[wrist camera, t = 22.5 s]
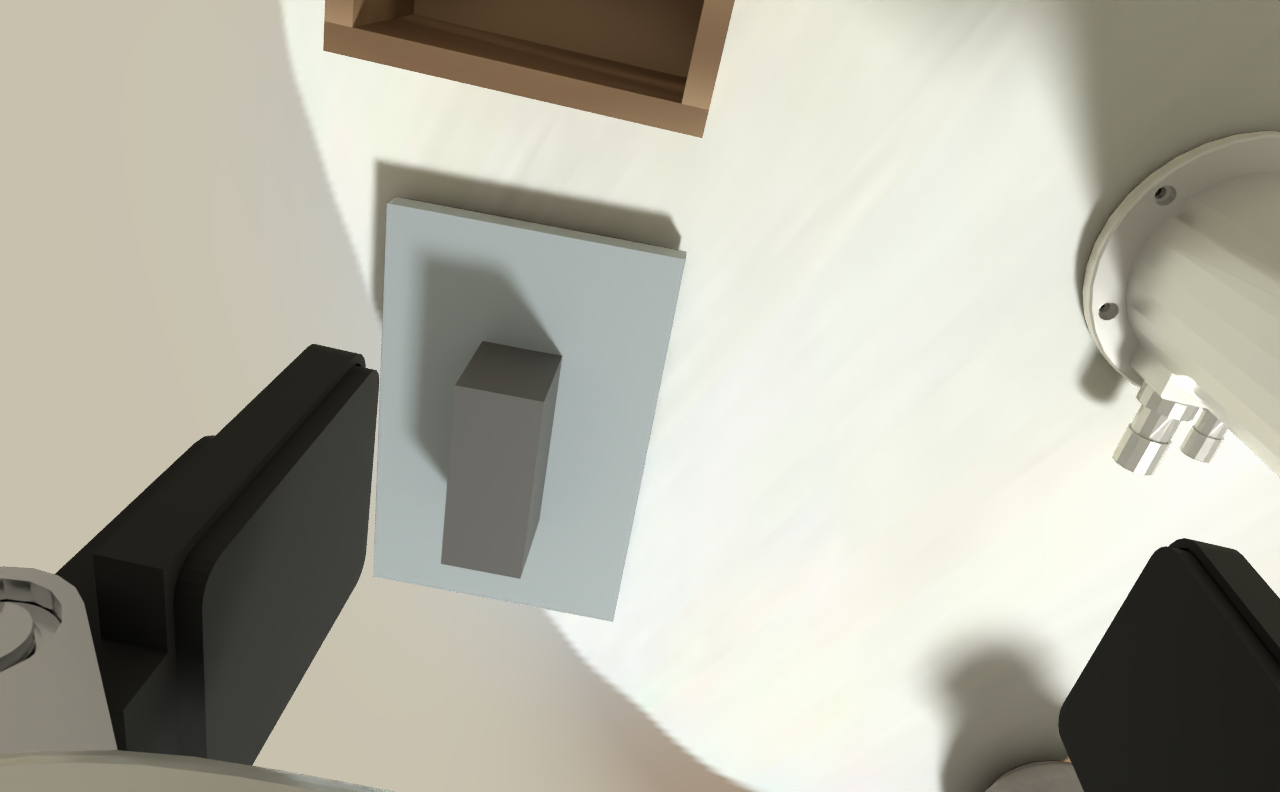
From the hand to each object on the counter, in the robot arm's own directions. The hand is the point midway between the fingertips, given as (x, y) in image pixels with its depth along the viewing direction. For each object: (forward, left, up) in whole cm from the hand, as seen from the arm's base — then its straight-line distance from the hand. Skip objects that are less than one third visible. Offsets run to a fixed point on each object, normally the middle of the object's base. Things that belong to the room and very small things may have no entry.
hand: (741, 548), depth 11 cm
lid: (-18, +7, -33) cm, 38 cm away
